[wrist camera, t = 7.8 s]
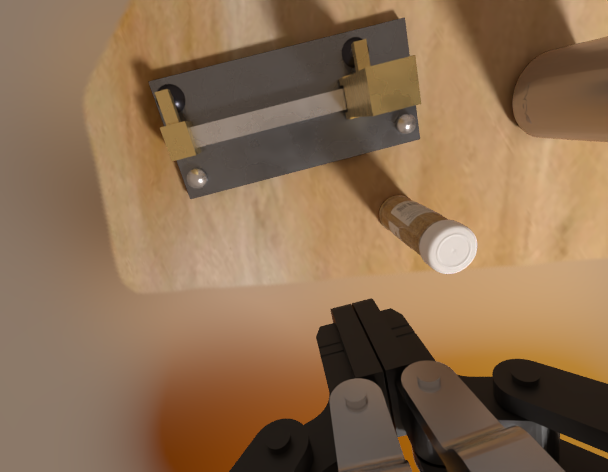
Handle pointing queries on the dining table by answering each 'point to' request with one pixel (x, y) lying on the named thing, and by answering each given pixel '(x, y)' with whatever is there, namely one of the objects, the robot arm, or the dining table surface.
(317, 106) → the beam
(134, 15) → the dining table surface
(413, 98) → the block
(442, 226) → the sprinkles bottle
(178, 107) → the metal base plate
